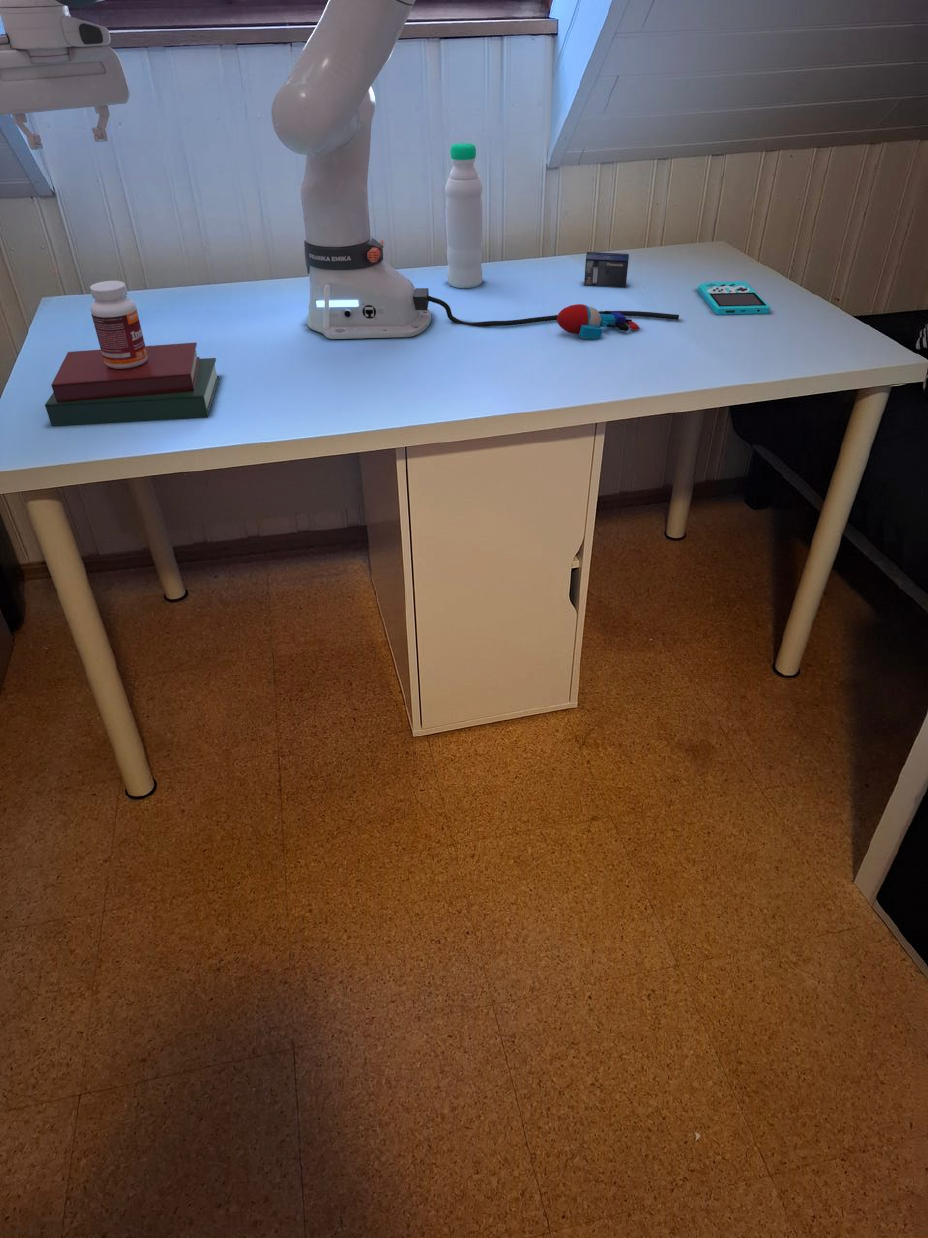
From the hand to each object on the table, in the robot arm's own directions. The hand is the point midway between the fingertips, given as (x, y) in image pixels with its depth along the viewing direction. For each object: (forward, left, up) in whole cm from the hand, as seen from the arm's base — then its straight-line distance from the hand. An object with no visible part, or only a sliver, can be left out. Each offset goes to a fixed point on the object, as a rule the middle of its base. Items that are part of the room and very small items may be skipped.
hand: (69, 144), depth 128 cm
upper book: (-11, +18, -28) cm, 35 cm away
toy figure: (-79, -19, -31) cm, 87 cm away
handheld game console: (-104, -39, -31) cm, 115 cm away
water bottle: (-52, -44, -31) cm, 75 cm away
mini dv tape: (-80, -46, -31) cm, 98 cm away
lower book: (-12, +19, -31) cm, 38 cm away
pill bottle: (-11, +18, -26) cm, 33 cm away
